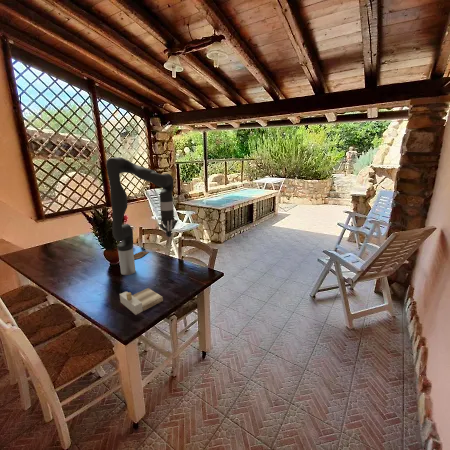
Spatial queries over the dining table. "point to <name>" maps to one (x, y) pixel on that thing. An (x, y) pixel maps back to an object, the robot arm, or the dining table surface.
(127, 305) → the block
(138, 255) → the wooden fragment
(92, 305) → the dining table surface
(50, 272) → the dining table surface
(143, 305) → the maple plate
